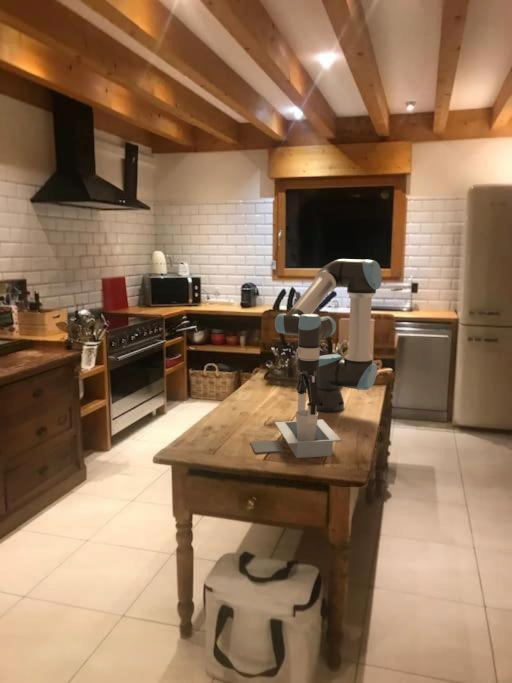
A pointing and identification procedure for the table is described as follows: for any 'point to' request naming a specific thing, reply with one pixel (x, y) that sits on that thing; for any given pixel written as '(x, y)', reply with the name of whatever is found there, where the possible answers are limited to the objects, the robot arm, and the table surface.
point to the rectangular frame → (309, 447)
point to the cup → (305, 426)
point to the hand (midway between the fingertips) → (306, 417)
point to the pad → (266, 447)
